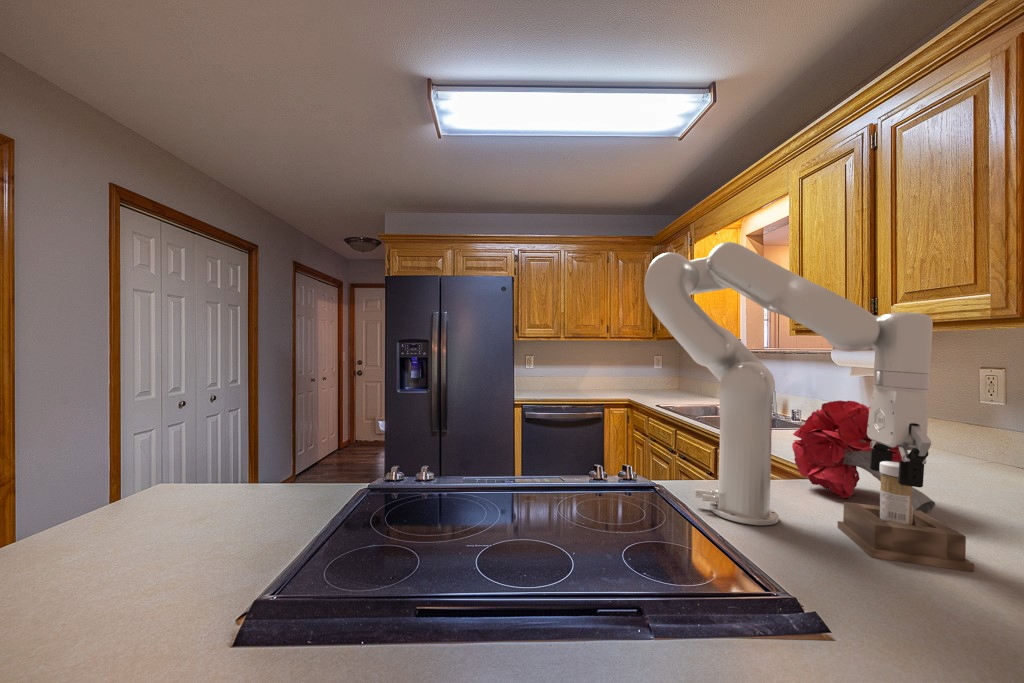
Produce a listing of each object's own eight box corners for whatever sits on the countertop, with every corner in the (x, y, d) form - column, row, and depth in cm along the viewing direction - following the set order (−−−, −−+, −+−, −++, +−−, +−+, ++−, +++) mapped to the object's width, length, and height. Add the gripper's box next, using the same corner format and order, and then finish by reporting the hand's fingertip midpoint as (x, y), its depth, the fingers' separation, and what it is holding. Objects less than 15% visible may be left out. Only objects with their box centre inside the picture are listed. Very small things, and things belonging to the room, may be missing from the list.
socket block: (871, 557, 74) (872, 525, 74) (837, 527, 87) (838, 500, 87) (973, 571, 70) (974, 538, 70) (922, 538, 83) (922, 510, 83)
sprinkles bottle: (916, 541, 78) (917, 465, 78) (907, 547, 75) (908, 468, 76) (883, 532, 82) (884, 459, 82) (874, 537, 79) (875, 462, 80)
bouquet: (936, 538, 101) (829, 447, 126) (999, 460, 89) (867, 378, 115) (859, 550, 96) (764, 453, 122) (915, 470, 85) (798, 382, 110)
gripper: (853, 377, 89) (848, 463, 89) (901, 383, 72) (895, 489, 72) (899, 381, 86) (893, 468, 86) (959, 387, 70) (952, 496, 70)
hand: (894, 477), depth 79 cm, fingers open, 9 cm apart
